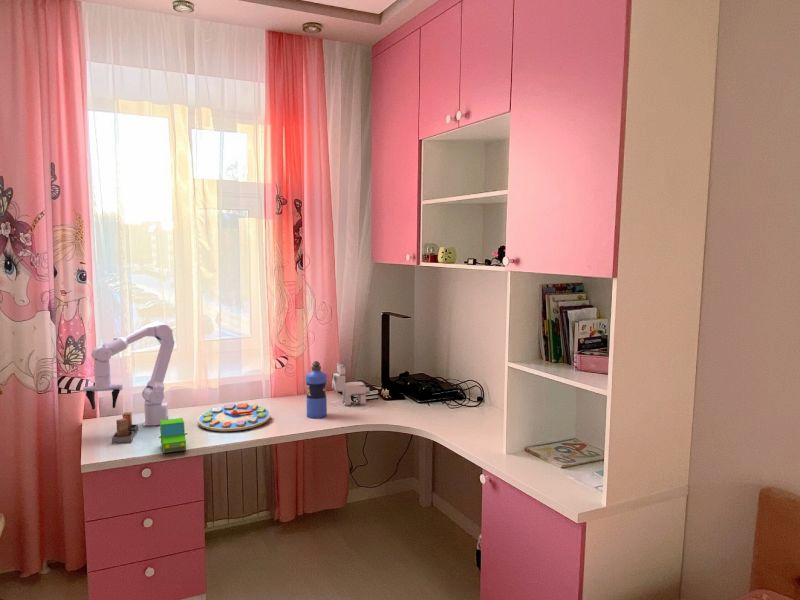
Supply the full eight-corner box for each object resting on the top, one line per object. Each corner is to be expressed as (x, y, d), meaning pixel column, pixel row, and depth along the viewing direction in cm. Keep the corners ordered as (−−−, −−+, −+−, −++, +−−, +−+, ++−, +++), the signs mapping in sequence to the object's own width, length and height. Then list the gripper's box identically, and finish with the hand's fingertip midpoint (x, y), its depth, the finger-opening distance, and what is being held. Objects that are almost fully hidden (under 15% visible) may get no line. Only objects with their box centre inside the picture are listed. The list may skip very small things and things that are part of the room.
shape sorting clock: (186, 433, 252) (186, 418, 251) (212, 412, 282) (212, 400, 282) (259, 434, 250) (259, 419, 250) (277, 413, 281) (277, 401, 280)
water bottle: (325, 412, 282) (324, 359, 280) (328, 417, 273) (327, 363, 271) (305, 413, 279) (304, 360, 277) (307, 419, 270) (306, 364, 268)
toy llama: (370, 404, 296) (370, 364, 294) (335, 407, 291) (334, 365, 289) (367, 400, 303) (367, 361, 301) (332, 403, 298) (332, 363, 297)
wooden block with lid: (128, 436, 242) (127, 419, 241) (121, 438, 239) (120, 421, 239) (123, 435, 244) (123, 418, 243) (116, 437, 241) (115, 419, 241)
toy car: (160, 456, 223) (159, 430, 222) (158, 446, 235) (157, 420, 234) (189, 452, 227) (188, 426, 226) (185, 442, 239) (185, 417, 238)
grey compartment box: (138, 429, 255) (137, 410, 254) (131, 442, 239) (130, 421, 238) (120, 431, 253) (119, 411, 253) (111, 443, 237) (111, 423, 236)
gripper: (123, 372, 255) (124, 404, 256) (85, 374, 251) (86, 406, 252) (120, 376, 248) (121, 408, 249) (81, 378, 244) (82, 411, 245)
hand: (103, 408), depth 250 cm, fingers open, 7 cm apart
